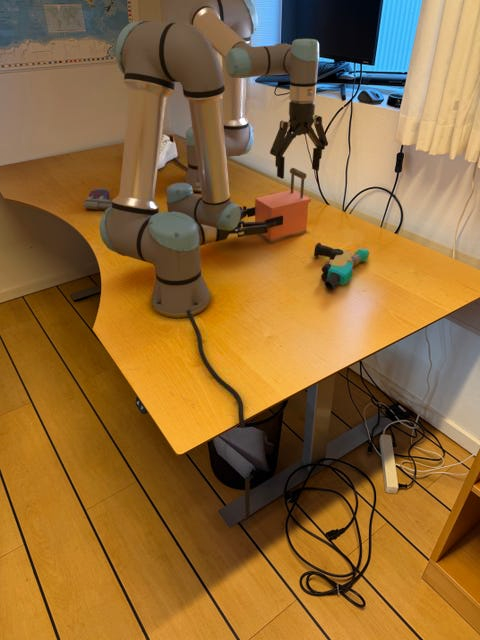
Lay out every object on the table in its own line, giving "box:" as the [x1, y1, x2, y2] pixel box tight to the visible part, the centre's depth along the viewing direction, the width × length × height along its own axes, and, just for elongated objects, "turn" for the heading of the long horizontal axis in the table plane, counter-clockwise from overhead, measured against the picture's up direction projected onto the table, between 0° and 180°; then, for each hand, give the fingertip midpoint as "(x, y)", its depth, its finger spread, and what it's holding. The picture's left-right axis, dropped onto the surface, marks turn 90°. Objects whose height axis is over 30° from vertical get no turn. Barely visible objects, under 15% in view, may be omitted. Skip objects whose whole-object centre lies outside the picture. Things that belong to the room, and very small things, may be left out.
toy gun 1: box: [82, 188, 112, 211], centre depth 178 cm, size 4×19×15 cm
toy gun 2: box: [313, 242, 370, 292], centre depth 136 cm, size 4×26×15 cm
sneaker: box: [158, 133, 179, 170], centre depth 214 cm, size 10×29×12 cm, turn 163°
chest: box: [254, 201, 309, 243], centre depth 156 cm, size 14×10×10 cm
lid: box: [254, 167, 312, 211], centre depth 151 cm, size 15×10×9 cm, turn 120°
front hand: (273, 214), depth 154 cm, fingers closed on chest, 10 cm apart
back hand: (298, 173), depth 150 cm, fingers open, 13 cm apart
